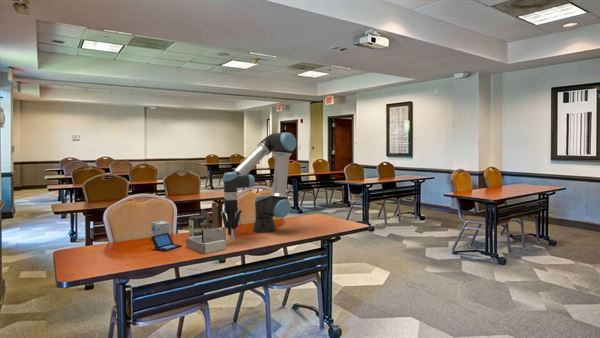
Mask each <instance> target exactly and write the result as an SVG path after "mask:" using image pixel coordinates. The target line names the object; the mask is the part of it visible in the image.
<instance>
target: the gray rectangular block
mask: <svg viewBox="0 0 600 338" xmlns="http://www.w3.org/2000/svg"><path fill="white" fill-rule="evenodd" d="M226 230H227V228H226V227H224V226H221V227H219V228H212V229H202V243H209V242H215V241H220V240H226V241H227V234H226V232H227V231H226Z"/></svg>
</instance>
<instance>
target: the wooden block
mask: <svg viewBox="0 0 600 338" xmlns="http://www.w3.org/2000/svg"><path fill="white" fill-rule="evenodd" d="M201 215H202V216H206V229H212V228H220V226H219V223H218V221H219V220H218V202H216V201H214V202H213V201H212V202H211V215H210V214H209V212H207V211H206V210H205V209H201ZM210 220H211V223H210Z"/></svg>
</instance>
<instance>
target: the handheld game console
mask: <svg viewBox="0 0 600 338" xmlns="http://www.w3.org/2000/svg"><path fill="white" fill-rule="evenodd" d="M151 241H152V243H153V245H154V248H155V251H159V252H168V251H172V250H175V249H179V248H182V245H181V244H176V243H174V242H173V239H172V237H171V234H170V235H169V233H165V234H160V235H156V236H152V235H151Z"/></svg>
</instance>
